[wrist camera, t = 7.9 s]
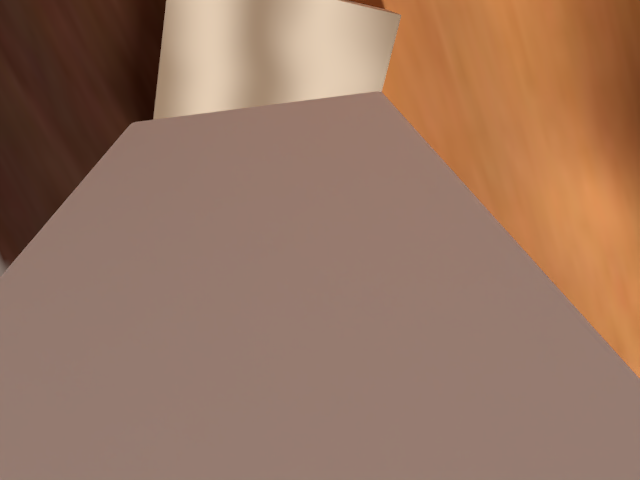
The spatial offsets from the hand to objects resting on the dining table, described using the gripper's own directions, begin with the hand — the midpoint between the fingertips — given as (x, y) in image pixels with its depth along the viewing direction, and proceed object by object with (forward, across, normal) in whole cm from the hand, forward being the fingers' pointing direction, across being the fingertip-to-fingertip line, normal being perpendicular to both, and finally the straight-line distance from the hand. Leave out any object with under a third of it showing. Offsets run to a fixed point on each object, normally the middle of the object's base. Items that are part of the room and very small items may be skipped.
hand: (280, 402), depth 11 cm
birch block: (+30, 0, 0) cm, 30 cm away
